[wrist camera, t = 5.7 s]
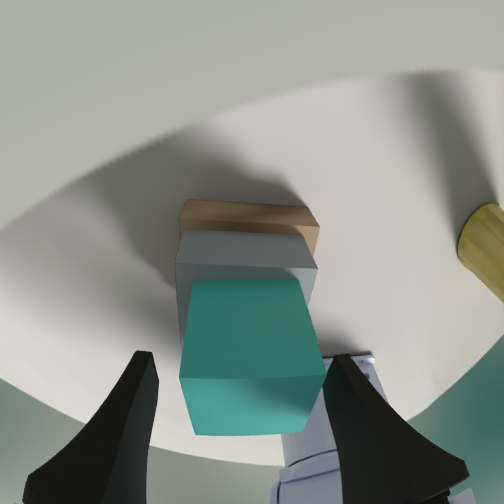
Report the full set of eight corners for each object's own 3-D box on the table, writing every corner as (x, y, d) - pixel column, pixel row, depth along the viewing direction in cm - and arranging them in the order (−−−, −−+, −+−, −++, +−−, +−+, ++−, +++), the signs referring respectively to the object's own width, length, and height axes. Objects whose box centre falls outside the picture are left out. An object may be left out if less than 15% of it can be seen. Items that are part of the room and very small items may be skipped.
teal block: (298, 279, 13) (326, 373, 8) (286, 348, 15) (302, 431, 11) (193, 279, 12) (178, 377, 8) (201, 349, 15) (195, 434, 10)
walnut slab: (306, 204, 17) (319, 227, 15) (288, 295, 21) (295, 325, 18) (187, 196, 17) (179, 218, 14) (189, 292, 20) (184, 322, 18)
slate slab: (303, 235, 15) (317, 268, 12) (284, 320, 18) (292, 357, 15) (184, 229, 14) (174, 262, 12) (187, 317, 17) (182, 355, 15)
